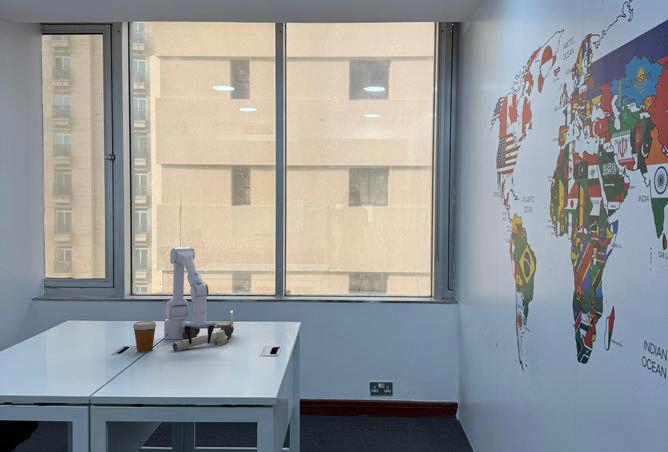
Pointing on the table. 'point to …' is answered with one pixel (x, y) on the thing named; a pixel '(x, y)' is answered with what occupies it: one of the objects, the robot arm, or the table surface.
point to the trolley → (223, 325)
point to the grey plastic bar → (201, 340)
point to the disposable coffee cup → (144, 335)
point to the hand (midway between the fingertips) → (199, 343)
